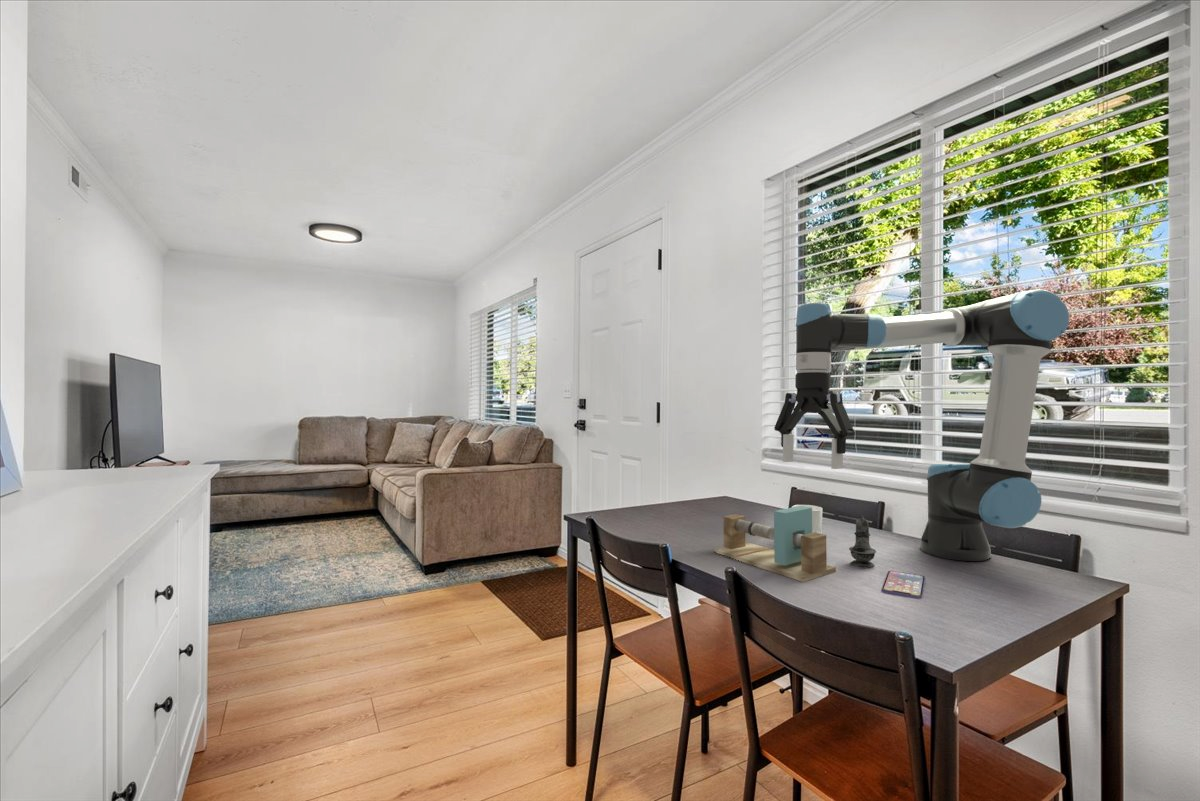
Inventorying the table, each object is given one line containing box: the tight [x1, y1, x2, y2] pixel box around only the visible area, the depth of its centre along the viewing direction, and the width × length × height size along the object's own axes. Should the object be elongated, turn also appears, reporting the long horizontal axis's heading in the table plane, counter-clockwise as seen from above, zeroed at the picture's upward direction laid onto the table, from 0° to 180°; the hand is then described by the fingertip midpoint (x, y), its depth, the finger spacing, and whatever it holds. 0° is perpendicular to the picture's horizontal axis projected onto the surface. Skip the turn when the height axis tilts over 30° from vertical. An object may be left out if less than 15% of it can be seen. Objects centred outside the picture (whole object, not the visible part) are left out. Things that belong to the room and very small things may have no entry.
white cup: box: [791, 504, 823, 534], centre depth 149 cm, size 8×8×10 cm
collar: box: [773, 506, 812, 565], centre depth 128 cm, size 3×10×12 cm, turn 123°
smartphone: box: [881, 570, 926, 599], centre depth 117 cm, size 1×7×15 cm
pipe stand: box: [713, 513, 837, 583], centre depth 134 cm, size 27×12×9 cm, turn 33°
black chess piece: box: [848, 514, 877, 569], centre depth 131 cm, size 6×6×12 cm
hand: (811, 465), depth 124 cm, fingers open, 13 cm apart
